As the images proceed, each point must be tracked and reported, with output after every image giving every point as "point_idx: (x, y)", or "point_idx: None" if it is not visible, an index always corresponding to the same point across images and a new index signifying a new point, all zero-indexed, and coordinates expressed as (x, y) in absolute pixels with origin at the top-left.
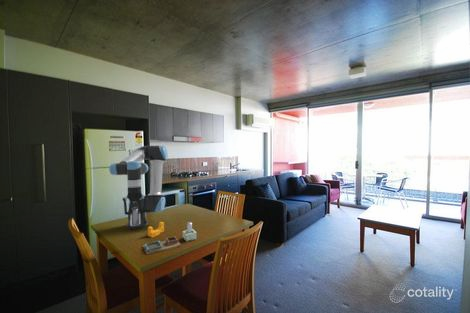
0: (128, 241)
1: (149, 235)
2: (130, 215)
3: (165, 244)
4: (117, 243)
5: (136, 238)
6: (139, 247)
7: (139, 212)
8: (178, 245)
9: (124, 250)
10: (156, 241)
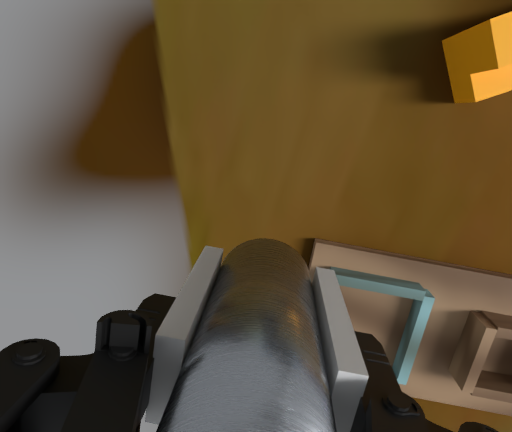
0: (260, 39)
1: (451, 63)
2: (147, 415)
3: (444, 341)
4: (173, 14)
5: (337, 18)
6: (291, 226)
7: (366, 376)
8: (499, 412)
9: (192, 199)
10: (409, 296)
